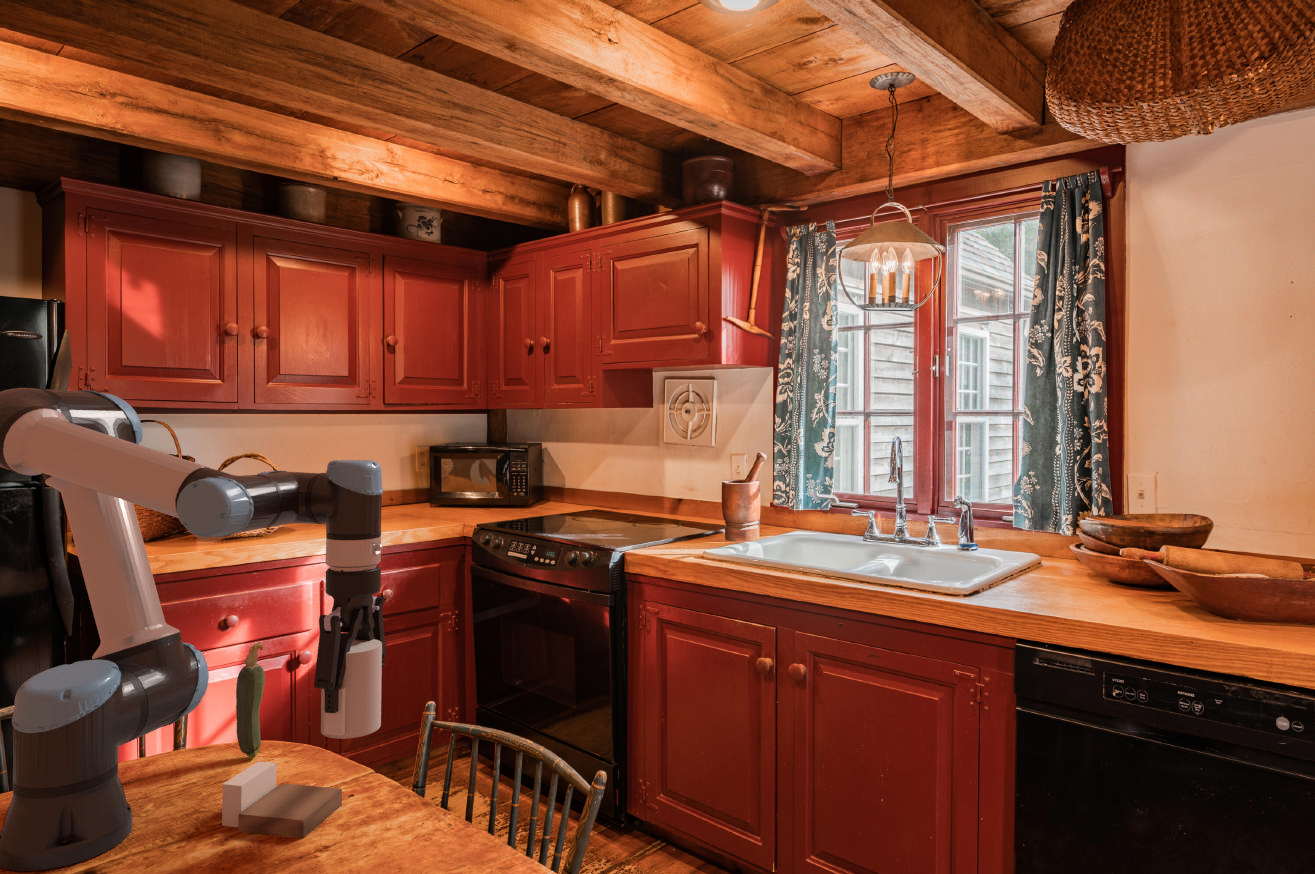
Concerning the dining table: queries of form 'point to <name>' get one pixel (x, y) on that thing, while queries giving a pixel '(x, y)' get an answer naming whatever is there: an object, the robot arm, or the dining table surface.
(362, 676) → the grey cylinder
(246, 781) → the block
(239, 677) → the vegetable
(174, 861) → the dining table surface
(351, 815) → the dining table surface
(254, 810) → the board
